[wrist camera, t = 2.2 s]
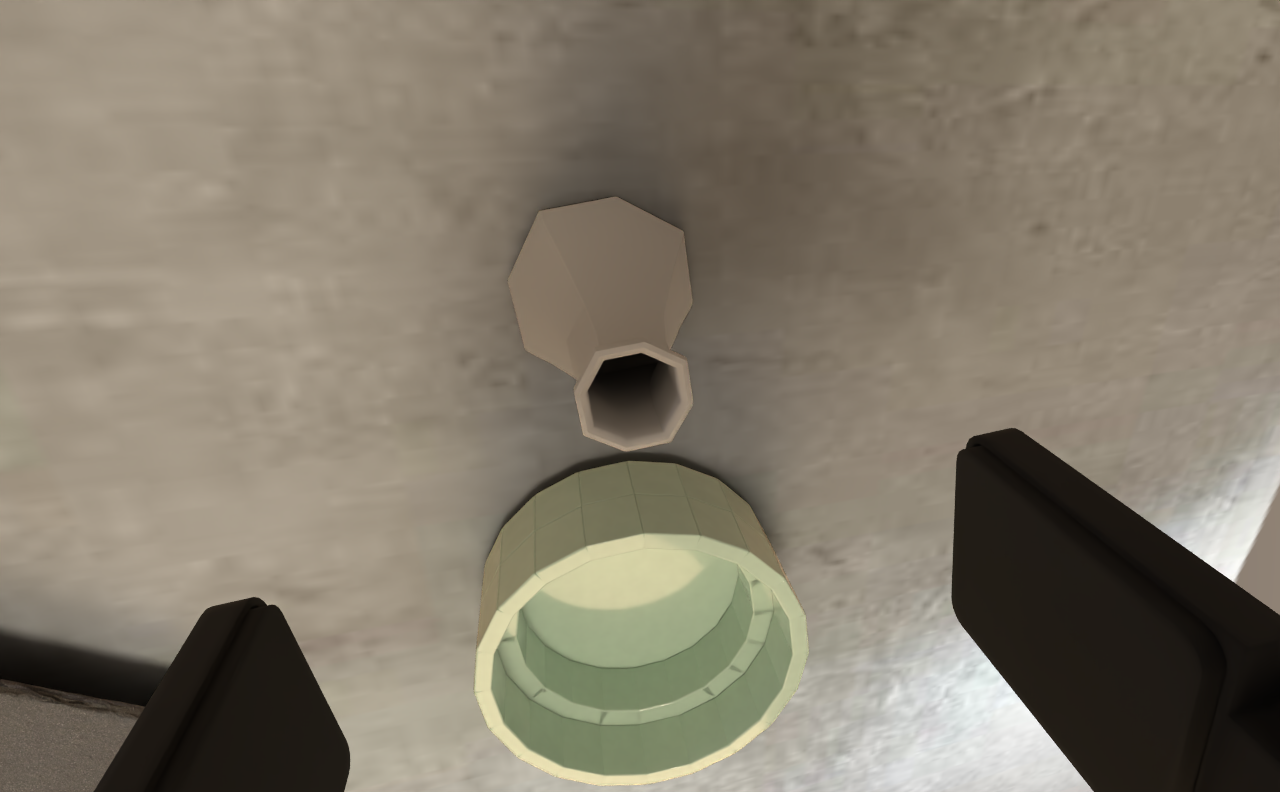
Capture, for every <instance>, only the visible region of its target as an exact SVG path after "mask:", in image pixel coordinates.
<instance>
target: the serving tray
mask: <svg viewBox="0 0 1280 792" xmlns="http://www.w3.org/2000/svg"><path fill="white" fill-rule="evenodd" d="M144 708H145V706H140V705H135V704H130V703H125V702H120V701H114V700H107V699H101V698H96V697H91V696H86V695H81V694H77V693H71V692H66V691H60V690H55V689H50V688H45V687H40V686H34V685H29V684H24V683H20V682H16V681H10V680H4V679H0V792H94V790H95V788H96V787H97V785H98V784H99V782H100V780H101V779H102V777H103V775H104V774H105V772H106V770H107V769H108V767H109V766H110V764H111V762H112V761H113V759H114V757H115V756H116V754H117V752H118V751H119V749H120V748H121V746H122V744H123V743H124V741H125V739H126V738H127V736H128V734H129V733H130V731H131V730H132V728H133V726H134V725H135V723H136V721H137V720H138V718H139V716H140V715H141V713H142V711H143V710H144Z"/></svg>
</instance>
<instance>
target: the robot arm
mask: <svg viewBox="0 0 1280 792" xmlns="http://www.w3.org/2000/svg"><path fill="white" fill-rule="evenodd" d="M952 605H953V609H954V611H955V614H956V616H957V618H958V620H959V622H960V623H961V625H962V626H963V628H964V629H965V630H966V631H967V633H968V634H969V635H970V636H971V638H972V639H973V640H974V641H975V643H976V644H977V645H978V647H979V648H980V649H981V650H982V652H983V653H984V654H985V655H986V657H987V658H988V659H989V660H990V662H991V663H992V664H993V665H994V667H995V668H996V669H997V670H998V672H999V673H1000V674H1001V675H1002V677H1003V678H1004V679H1005V680H1006V682H1007V683H1008V684H1009V686H1010V687H1011V688H1012V689H1013V691H1014V692H1015V693H1016V694H1017V696H1018V697H1019V698H1020V699H1021V701H1022V702H1023V703H1024V704H1025V706H1026V707H1027V708H1028V709H1029V711H1030V712H1031V713H1032V714H1033V716H1034V717H1035V718H1036V719H1037V721H1038V722H1039V723H1040V725H1041V726H1042V727H1043V728H1044V730H1045V731H1046V732H1047V733H1048V735H1049V736H1050V737H1051V738H1052V740H1053V741H1054V742H1055V743H1056V745H1057V746H1058V747H1059V748H1060V750H1061V751H1062V752H1063V753H1064V755H1065V756H1066V757H1067V758H1068V760H1069V761H1070V762H1071V763H1072V765H1073V766H1074V767H1075V769H1076V770H1077V771H1078V772H1079V774H1080V775H1081V776H1082V777H1083V779H1084V780H1085V781H1086V782H1087V784H1088V785H1089V786H1090V787H1091V789H1092V790H1093V791H1094V792H1280V615H1279V614H1277V613H1276V612H1275V611H1273V610H1272V609H1270V608H1269V607H1268V606H1266V605H1265V604H1263V603H1262V602H1260V601H1259V600H1258V599H1256V598H1255V597H1253V596H1252V595H1251V594H1249V593H1248V592H1246V591H1245V590H1244V589H1242V588H1241V587H1239V586H1238V585H1237V584H1235V583H1234V582H1232V581H1231V580H1230V579H1228V578H1227V577H1225V576H1224V575H1223V574H1221V573H1220V572H1218V571H1217V570H1216V569H1214V568H1213V567H1211V566H1210V565H1209V564H1207V563H1206V562H1204V561H1203V560H1202V559H1200V558H1199V557H1197V556H1196V555H1194V554H1193V553H1192V552H1190V551H1189V550H1187V549H1186V548H1185V547H1183V546H1182V545H1180V544H1179V543H1178V542H1176V541H1175V540H1173V539H1172V538H1171V537H1169V536H1168V535H1166V534H1165V533H1164V532H1162V531H1161V530H1159V529H1158V528H1157V527H1155V526H1154V525H1152V524H1151V523H1150V522H1148V521H1147V520H1145V519H1144V518H1143V517H1141V516H1140V515H1138V514H1137V513H1136V512H1134V511H1133V510H1131V509H1130V508H1128V507H1127V506H1126V505H1124V504H1123V503H1121V502H1120V501H1119V500H1117V499H1116V498H1114V497H1113V496H1112V495H1110V494H1109V493H1107V492H1106V491H1105V490H1103V489H1102V488H1100V487H1099V486H1098V485H1096V484H1095V483H1093V482H1092V481H1091V480H1089V479H1088V478H1086V477H1085V476H1084V475H1082V474H1081V473H1079V472H1078V471H1077V470H1075V469H1074V468H1072V467H1071V466H1070V465H1068V464H1067V463H1065V462H1064V461H1062V460H1061V459H1060V458H1058V457H1057V456H1055V455H1054V454H1053V453H1051V452H1050V451H1048V450H1047V449H1046V448H1044V447H1043V446H1041V445H1040V444H1039V443H1037V442H1036V441H1034V440H1033V439H1032V438H1030V437H1029V436H1027V435H1026V434H1025V433H1023V432H1022V431H1020V430H1018V429H1016V428H1009V429H1004V430H1000V431H995V432H991V433H986V434H982V435H977V436H973V437H972V438H970V439H969V441H968V443H967V446H966V449H963V450H961V451H959V453H958V455H957V461H956V489H955V516H954V543H953V570H952ZM349 769H350V751H349V746H348V743H347V741H346V739H345V737H344V735H343V733H342V731H341V729H340V727H339V725H338V723H337V721H336V719H335V717H334V715H333V713H332V711H331V709H330V707H329V705H328V703H327V701H326V699H325V697H324V695H323V693H322V691H321V689H320V687H319V685H318V683H317V681H316V679H315V677H314V675H313V673H312V671H311V669H310V667H309V665H308V663H307V661H306V659H305V657H304V655H303V653H302V651H301V649H300V647H299V645H298V643H297V641H296V639H295V637H294V635H293V633H292V631H291V629H290V627H289V625H288V623H287V621H286V619H285V617H284V615H283V613H282V612H281V610H280V609H279V608H278V607H277V606H276V605H268V606H267V605H266V604H265V602H264V601H263V600H261V599H260V598H256V597H252V598H248V599H243V600H239V601H234V602H230V603H225V604H221V605H216V606H212V607H210V608H208V609H206V610H205V611H204V613H203V614H202V615H201V617H200V618H199V620H198V621H197V623H196V625H195V626H194V628H193V630H192V631H191V633H190V635H189V636H188V638H187V639H186V641H185V643H184V644H183V646H182V648H181V649H180V651H179V653H178V654H177V656H176V657H175V659H174V661H173V662H172V664H171V666H170V667H169V669H168V671H167V672H166V674H165V675H164V677H163V679H162V680H161V682H160V684H159V685H158V687H157V689H156V690H155V692H154V693H153V695H152V697H151V698H150V700H149V702H148V703H147V705H146V707H145V708H144V710H143V711H142V713H141V715H140V716H139V718H138V720H137V721H136V723H135V725H134V726H133V728H132V730H131V731H130V733H129V734H128V736H127V738H126V739H125V741H124V743H123V744H122V746H121V748H120V749H119V751H118V752H117V754H116V756H115V757H114V759H113V761H112V762H111V764H110V766H109V767H108V769H107V770H106V772H105V774H104V775H103V777H102V779H101V780H100V782H99V784H98V785H97V787H96V788H95V790H94V792H344V790H345V786H346V782H347V778H348V775H349Z"/></svg>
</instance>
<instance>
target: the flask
mask: <svg viewBox="0 0 1280 792" xmlns="http://www.w3.org/2000/svg"><path fill="white" fill-rule="evenodd" d="M507 281H508V285H509V289H510V293H511V297H512V301H513V305H514V309H515V313H516V316H517V320H518V324H519V328H520V332H521V336H522V340H523V344H524V348H525V350H526V351H527V352H529V353H531V354H533V355H535V356H537V357H539V358H541V359H543V360H545V361H547V362H549V363H551V364H553V365H554V366H556V367H557V368H559V369H561V370H562V371H564V372H565V373H567V374H569V375H570V376H572V377H573V378H575V379H576V381H577V382H576V384H575V386H574V389H573V391H574V396H575V400H576V405H577V409H578V414H579V418H580V423H581V427H582V432H583V435H584V436H587V437H589V438H592V439H594V440H597V441H599V442H602V443H604V444H607V445H610V446H612V447H615V448H617V449H620V450H622V451H625V452H626V451H631V450H636V449H641V448H646V447H650V446H655V445H660V444H665V443H670V442H671V441H672V439H673V438H674V436H675V434H676V433H677V431H678V429H679V428H680V426H681V424H682V422H683V421H684V419H685V417H686V416H687V414H688V412H689V411H690V409H691V407H692V406H693V398H692V391H691V383H690V376H689V369H688V362H687V359H686V357H684V356H683V355H681V354H678V353H676V352H674V351H672V350H671V348H672V345H673V343H674V340H675V338H676V336H677V333H678V331H679V328H680V326H681V325H682V323H683V321H684V319H685V317H686V316H687V314H688V312H689V310H690V308H691V306H692V303H693V300H692V292H691V284H690V277H689V269H688V262H687V254H686V246H685V239H684V231H682V230H680V229H678V228H677V227H675V226H673V225H671V224H669V223H667V222H665V221H663V220H661V219H659V218H657V217H655V216H653V215H651V214H649V213H647V212H645V211H644V210H642V209H640V208H638V207H636V206H634V205H632V204H630V203H628V202H626V201H624V200H622V199H620V198H618V197H611V198H605V199H600V200H595V201H590V202H584V203H579V204H574V205H568V206H563V207H558V208H553V209H547V210H542V211H539V212H538V214H537V217H536V219H535V221H534V223H533V225H532V228H531V230H530V232H529V234H528V236H527V239H526V241H525V243H524V245H523V247H522V250H521V252H520V254H519V256H518V258H517V261H516V263H515V265H514V267H513V269H512V272H511V274H510V276H509V278H508V280H507Z"/></svg>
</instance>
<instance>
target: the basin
mask: <svg viewBox="0 0 1280 792" xmlns="http://www.w3.org/2000/svg"><path fill="white" fill-rule="evenodd" d="M808 652H809V647H808V636H807V624H806V614H805V612H804V610H803V608H802V606H801V604H800V602H799V600H798V598H797V596H796V594H795V592H794V590H793V588H792V585H791V583H790V581H789V579H788V577H787V575H786V573H785V571H784V569H783V567H782V565H781V563H780V561H779V559H778V557H777V555H776V553H775V551H774V549H773V547H772V545H771V543H770V541H769V539H768V537H767V535H766V533H765V531H764V530H763V528H762V526H761V524H760V523H759V521H758V519H757V517H756V515H755V514H754V512H753V510H752V508H751V506H750V505H749V504H748V503H747V502H746V501H744V500H743V499H742V498H741V497H740V496H738V495H737V494H736V493H735V492H733V491H732V490H731V489H730V488H728V487H727V486H726V485H725V484H723V483H722V482H721V481H720V480H718V479H717V478H714V477H712V476H709V475H706V474H703V473H701V472H698V471H695V470H692V469H690V468H687V467H684V466H681V465H679V464H675V463H660V462H642V461H627V462H626V461H624V462H620V463H615V464H611V465H606V466H602V467H597V468H593V469H588V470H584V471H580V472H579V473H578V472H576V473H574V474H573V475H571V476H569V477H567V478H565V479H563V480H561V481H559V482H558V483H556V484H554V485H552V486H550V487H548V488H546V489H544V490H543V491H541V492H539V493H537V494H536V495H535V496H533V497H532V498H531V499H530V500H529V501H528V502H527V503H526V504H525V505H524V506H523V507H522V508H521V509H520V510H519V511H518V512H517V513H516V514H515V515H514V516H513V517H512V518H511V519H510V520H509V521H508V522H507V523H506V524H505V525H504V527H503V528H502V529H501V531H500V533H499V535H498V538H497V540H496V542H495V544H494V546H493V548H492V550H491V552H490V554H489V556H488V558H487V561H486V563H485V566H484V575H483V585H482V595H481V606H480V615H479V625H478V635H477V645H476V658H475V674H474V694H475V696H476V699H477V701H478V704H479V707H480V709H481V712H482V714H483V717H484V719H485V722H486V724H487V727H488V728H489V729H490V731H491V732H492V733H493V734H494V735H495V736H496V737H497V738H498V739H499V740H500V741H501V742H502V743H503V744H504V745H505V746H506V747H507V748H508V749H509V750H510V751H511V752H512V753H513V754H514V755H515V756H516V757H517V758H519V759H521V760H523V761H525V762H527V763H529V764H531V765H533V766H535V767H537V768H539V769H541V770H543V771H545V772H547V773H549V774H551V775H553V776H556V777H558V778H563V779H568V780H573V781H578V782H583V783H588V784H593V785H598V786H600V785H601V786H614V785H646V784H652V783H657V782H661V781H665V780H669V779H673V778H677V777H681V776H685V775H689V774H693V773H694V772H697V771H700V770H702V769H704V768H706V767H708V766H710V765H712V764H714V763H716V762H718V761H720V760H722V759H725V758H727V757H729V756H731V755H733V754H735V753H736V752H738V751H739V750H740V749H742V748H743V747H744V746H745V745H747V744H748V743H749V742H750V741H752V740H753V739H754V738H755V737H757V736H758V735H759V734H760V733H762V732H763V731H764V730H765V729H767V728H768V727H769V726H770V725H771V724H772V723H773V722H774V721H775V719H776V718H777V717H778V715H779V714H780V712H781V711H782V710H783V708H784V707H785V706H786V704H787V703H788V702H789V700H790V699H791V697H792V696H793V695H794V693H795V692H796V690H797V689H798V685H799V682H800V679H801V676H802V673H803V670H804V666H805V663H806V660H807V657H808Z"/></svg>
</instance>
